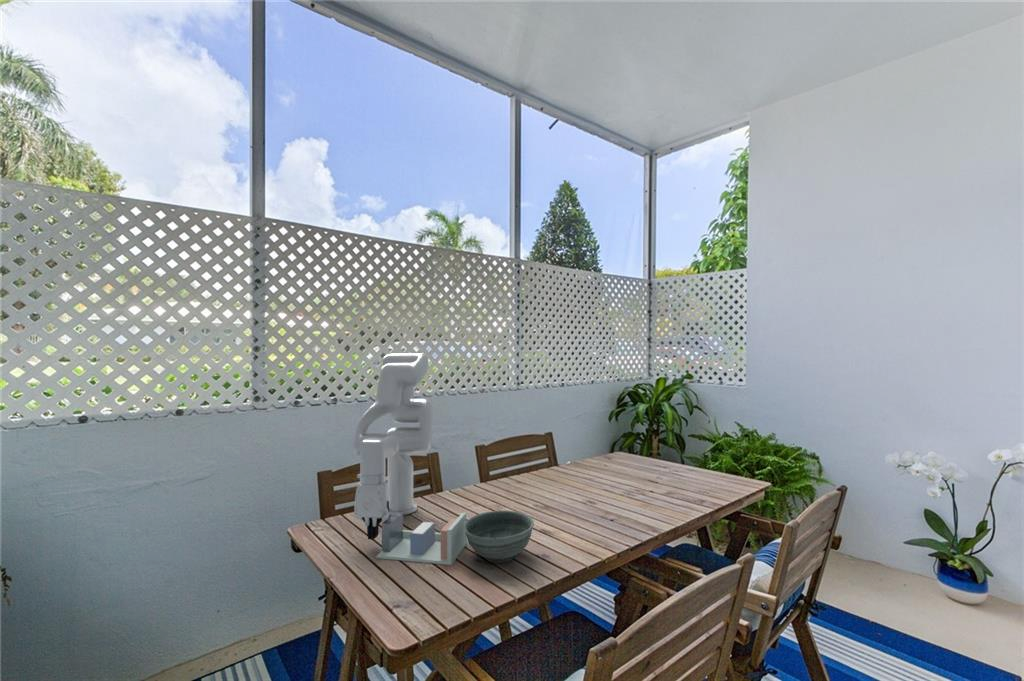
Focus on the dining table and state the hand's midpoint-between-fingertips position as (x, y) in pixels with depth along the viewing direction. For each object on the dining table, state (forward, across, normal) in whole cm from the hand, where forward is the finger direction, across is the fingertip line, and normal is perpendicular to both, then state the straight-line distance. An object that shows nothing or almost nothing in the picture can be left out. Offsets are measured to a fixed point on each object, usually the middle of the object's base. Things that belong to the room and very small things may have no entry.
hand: (372, 537), depth 138 cm
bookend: (+1, +7, 0) cm, 7 cm away
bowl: (+3, +40, +1) cm, 40 cm away
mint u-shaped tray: (+3, +17, 0) cm, 17 cm away
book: (+2, +17, 0) cm, 17 cm away
